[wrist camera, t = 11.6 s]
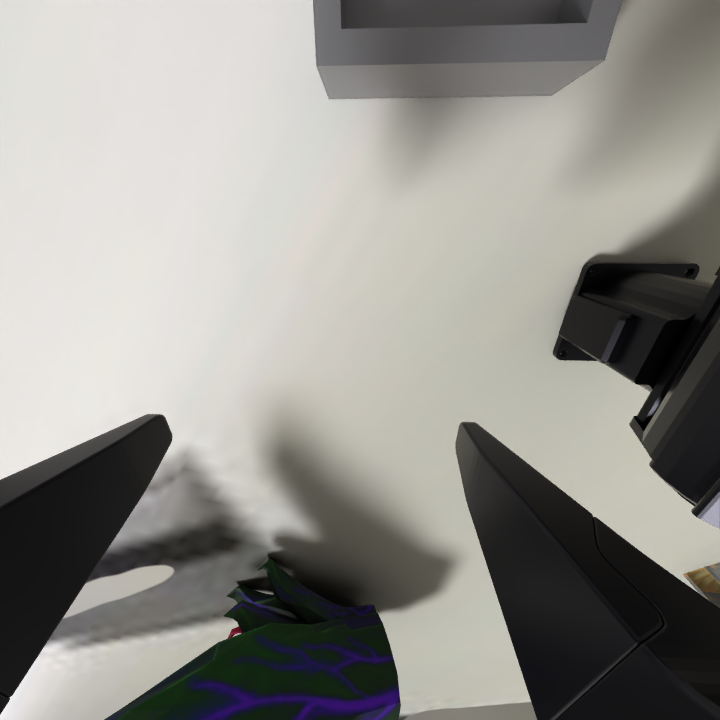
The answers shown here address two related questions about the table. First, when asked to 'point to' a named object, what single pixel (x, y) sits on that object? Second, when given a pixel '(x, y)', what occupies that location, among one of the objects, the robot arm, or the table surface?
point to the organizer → (458, 46)
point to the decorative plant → (283, 664)
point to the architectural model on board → (707, 582)
